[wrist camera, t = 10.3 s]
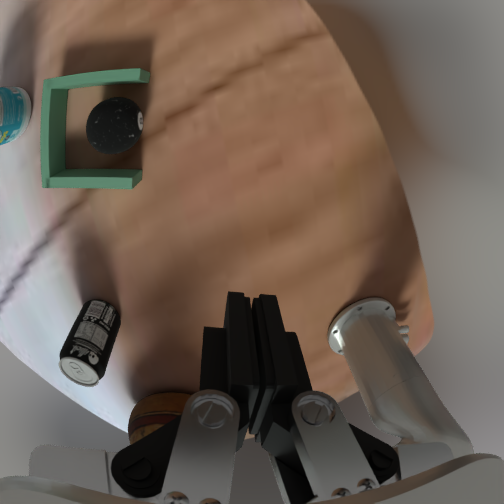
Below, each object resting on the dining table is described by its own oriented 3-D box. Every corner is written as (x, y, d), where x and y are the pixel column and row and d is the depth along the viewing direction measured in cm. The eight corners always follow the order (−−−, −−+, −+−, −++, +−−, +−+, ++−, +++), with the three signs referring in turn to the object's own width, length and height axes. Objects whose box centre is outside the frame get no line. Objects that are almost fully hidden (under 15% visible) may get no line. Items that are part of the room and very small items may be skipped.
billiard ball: (98, 103, 25) (74, 104, 20) (147, 93, 26) (131, 90, 21) (102, 153, 28) (80, 163, 23) (150, 145, 29) (136, 153, 23)
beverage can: (96, 331, 40) (74, 389, 30) (76, 300, 37) (46, 357, 27) (129, 326, 40) (111, 388, 30) (109, 293, 37) (83, 354, 27)
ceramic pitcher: (241, 398, 52) (258, 538, 26) (203, 434, 59) (207, 542, 33) (145, 371, 46) (126, 529, 19) (125, 414, 53) (111, 529, 27)
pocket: (150, 72, 25) (140, 68, 21) (141, 179, 30) (132, 189, 27) (61, 80, 23) (43, 79, 19) (58, 178, 29) (42, 187, 25)
